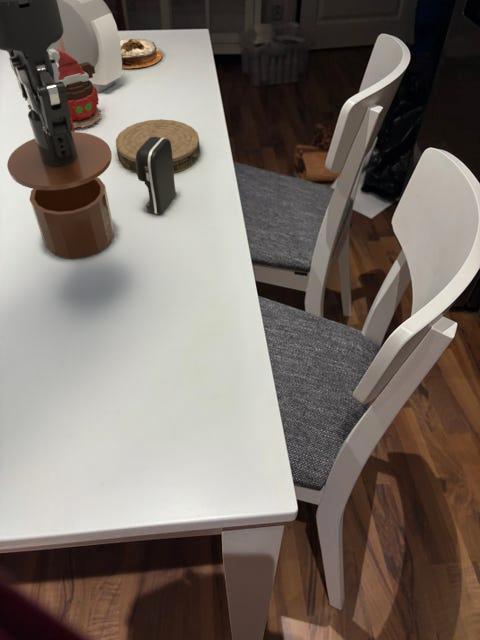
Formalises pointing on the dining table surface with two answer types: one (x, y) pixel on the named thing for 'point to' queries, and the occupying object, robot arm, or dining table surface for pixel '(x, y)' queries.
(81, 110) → the cake
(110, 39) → the alarm clock
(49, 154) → the crock lid
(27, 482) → the dining table surface
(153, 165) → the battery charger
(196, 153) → the wood log slice
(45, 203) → the crock
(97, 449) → the dining table surface
